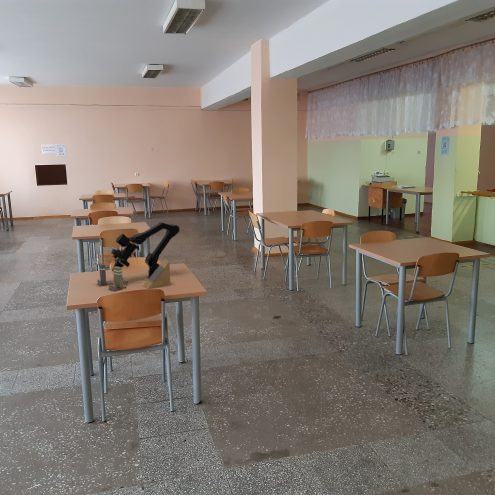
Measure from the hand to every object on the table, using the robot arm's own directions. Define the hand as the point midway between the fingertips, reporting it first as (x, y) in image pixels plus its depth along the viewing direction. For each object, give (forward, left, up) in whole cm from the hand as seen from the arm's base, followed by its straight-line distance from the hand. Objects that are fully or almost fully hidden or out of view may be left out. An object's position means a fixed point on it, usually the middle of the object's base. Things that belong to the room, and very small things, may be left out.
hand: (112, 271), depth 297 cm
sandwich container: (-24, +16, -8) cm, 30 cm away
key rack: (+2, +8, -8) cm, 11 cm away
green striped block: (-2, +13, -7) cm, 15 cm away
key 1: (+6, +1, -7) cm, 9 cm away
